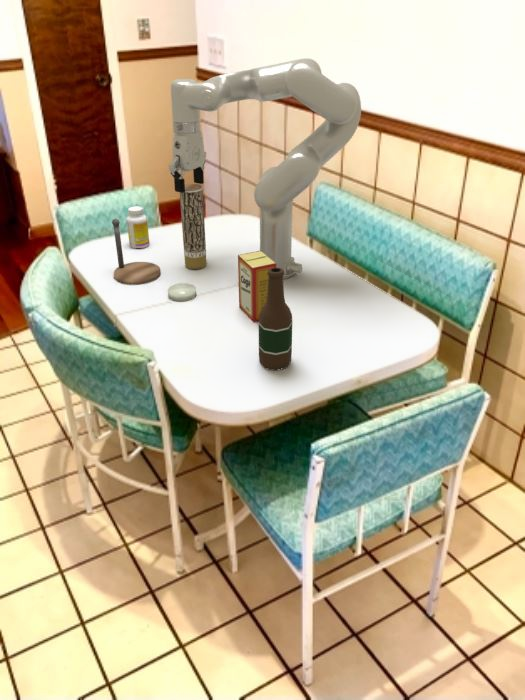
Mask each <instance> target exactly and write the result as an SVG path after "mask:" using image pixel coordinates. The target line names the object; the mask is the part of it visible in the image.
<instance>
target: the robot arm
mask: <svg viewBox="0 0 525 700" xmlns="http://www.w3.org/2000/svg"><path fill="white" fill-rule="evenodd" d="M322 73H323V72H322V68H321V67H320V64H319V63H318V62H317V61H316V60H314V59H312V58H306V57H305V58H299V59H294V60H289V61H284V62H280V63H275V64H271V65H266V66H260V67H256V68H252V69H251V68H250V69H247V70H241V71H235V72H234V71H233V72H230V73H225V74H220V75H216V76H213V77H211V78H208V79H207V80H205V81H201V82H197V81H196V80H195V79H190V78H177V79H174V80H172V82H171V83H170V97H171V98H170V99H171V114H172V115H171V116H172V131H173V137H172V161H171V162H170V164H168V169H169V171H170V175H171V176H172V178H173V179H174V181H173V182H174V191H175V192H177V193H180V192H181V193H184V192H185V184H186V183H185V178H184V176H185V172H191V171H193V172H192V173H193V174H192V175H193V184H199V185H203V184H204V183H205V180H204V179H205V178H204V170H205V164H206V158H207V152H206V151H205V147H204V146H205V145H204V139H203V133H202V130H201V124H200V123H201V119H200V118H201V116H200V114H201V113H200V111H202V112H211V113H212V112H215V111H217V110H219V109H220V108H221V107H222V106H224V105H225V104H229V103H230V104H231V103H234V102H238V101H245V100H246V101H247V100H255V101H259V102H263V103H264V102H271V101H276V100H280V99H286V98H292V97H293V98H295V99H296V100H297V101H299V102H300V103H301V104H302V105H304V106H306V107H307V108H308V109H310V110H311V111H312V112H314V113H316V114H317V115H318V116H320V117H321V118H323V119H324V121H323V122H322V123H321V124H320V125H319V126H318V127H317V128H316V129H315V130H314V131H313V132H311V133H310V134H309V135H308V136H307V137H306V138H305V139H303V141H301V142H300V143H298V144H296V146H294V147H293V148H292V149H291V151H290V152H289V153H288V155H287V157H286V158H285V159H284V160H283V161H281V162H280V163H279V164H278V165H277V166H273V167H269V168H268V169H267V170H266V171H264V172H263V173H262V174H261V177H260V178H259V180H258V182H257V183H256V185H255V187H254V191H253V196H254V201H255V204H256V205H257V207H259V251H261V252H263V253H264V254H265V255H266V256H267V257H269V258H270V259H271V260H272V261H274V262H275V263H276V268H281V269H282V270H284V275H283V280H285V279H288V278H290V277H292V276H294V275H296V273H298V274H302V272H303V264H302V263H300V262H299V263H298V262H295V257H294V256H292V247H293V246H292V241H293V240H292V239H293V238H292V237H293V234H292V233H293V209H294V208H293V205H294V199H296V198H297V197H298V196H299V195H300V194H302V193H303V192H304V191H305V190H307V188H309V187H310V186H311V185H312V184H313V183H314V181H315V180H316V178H317V177H318V175H319V172H320V171H321V169H322V167H324V166H325V165H326V164H327V163H328V162H329V161H330V160H331V159H333V157H335V156H336V155H337V154H338V153H339V152H340V151H341V150H342V149H343V148H344V147H345V146H347V144H348V143H349V142H350V141H351V139H352V138H353V136H354V134H355V133H356V131H357V129H358V126H359V124H360V120H361V117H362V116H361V115H362V105H361V103H362V101H361V97H360V94H359V91H358V90H357V88H356V86H354V85H353V84H351V83H348V82H340V83H338V84H337V83H335V82H334V81H332V79H330V78H328V77H327V76H325V75H324V74H322ZM179 172H180V173H179Z"/></svg>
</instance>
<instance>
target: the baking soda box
mask: <svg viewBox="0 0 525 700" xmlns="http://www.w3.org/2000/svg"><path fill="white" fill-rule="evenodd" d="M275 267H276V263H275V262H274V261H272V260H271V259H270V258H269V257H267V256H266V255H265V254H264V253H263V252H261V251H260V250H258V251H252V252H251V251H250V252H247V253H246V252H245V253H241V254H238V255H237V271H238V273H237V274H238V275H237V276H238V279H237V280H238V305H239V306H238V308H239V309H240V310H241V311H242V312H243V313H244V314H245V315H246V317H248V319H249V320H251V321H252V323H259V314H260V312H261V309H262V308H263V306H264V305H265V304H266V300H267V292H268V278H269V276H268V275H267V273H268V270H269V269H270V268H275Z"/></svg>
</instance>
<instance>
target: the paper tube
mask: <svg viewBox="0 0 525 700" xmlns="http://www.w3.org/2000/svg"><path fill="white" fill-rule="evenodd" d="M179 200H180V201H179V202H180V203H179V204H180V213H181V214H180V215H181V229H182V242H183V255H184V265H185V267H186V268H187V269H190V270H201V269H202V268H203V269H204V268H205V267H206V266H207V264H208V263H207V247H206V245H207V244H206V225H205V222H206V221H205V209H204V207H205V205H204V188H203V185H202V184H199V183H185V192H184V193H181V192H179Z"/></svg>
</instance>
